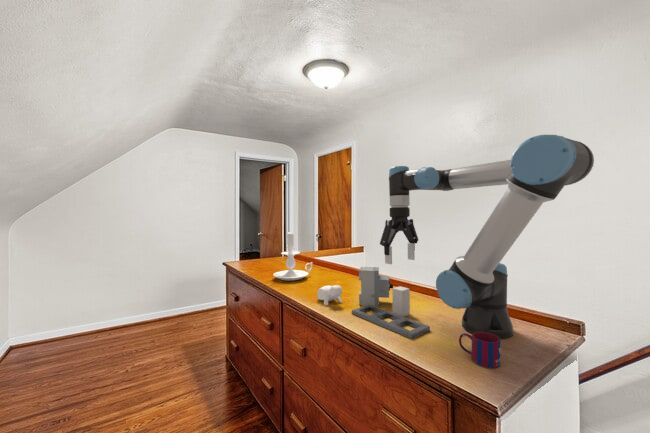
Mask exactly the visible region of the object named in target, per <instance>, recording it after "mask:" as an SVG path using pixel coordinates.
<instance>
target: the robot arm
mask: <svg viewBox="0 0 650 433" xmlns="http://www.w3.org/2000/svg"><path fill="white" fill-rule="evenodd" d="M594 164H595V158H594V154H593V152H592V150H591V148H590V147H589V146H588V145H586V144H585V143H583V142H581V141H578V140H573V139H570V138H568V137H564V136H563V135H557V134H539V135H535V136H532V137H529V138H527V139H525V140H524V141H523V142H521V143H520V144H519V145H518V146H517V147H516V148H515V150H514V152H513V153H512V154H511V158H510V159H505V160H500V161H493V162H487V163H481V164H475V165H469V166H462V167H456V168H451V169H443V170H441V169H439V170H438V169H436V168H435V167H432V166H428V167H426V166H425V167H421V168H415V169H410V168H409V166H406V165H398V166H397V165H395V166H392V167H390V168H389V171H388V172H389V174H388V184H389V187H388V188H389V189H388V190H389V206H390V208H389V217H390V218H391V219H385V223H384V228H383V232H382V235H381V238H380V240H379V241H380V242H379V245H380V246H382V247H383V254H384V264H386V265H392V264H393V246H391V245H392V244H393V241H394V239H395V237H396V235H397V233H399V232H403V234H404V237H405V238H406V239H407V241H408V242H407V260H410V261H415V250H416V249H415V248H416V247H415V246H416V244H418V242H419V236H418V234H417V231H416V228H415V224H414V219H413V218H408V217H410V215H411V212H410V211H411V210H410V207H409V206H410V205H411V204H410V203H411V202H410V191H420V190H421V191H441V192H442V191H443V192H448V191H454V190H459V189H460V190H461V189H470V188H471V189H472V188H473V189H474V188H481V187H493V186H502V185H503V186H504V185H505V186H506V185H507V189H506V191H505V192H504V193H503V194H502V196H501V198H500V200H499V202H498V203H497V204H496V206H495V207H494V209H493V210H492V213H490V215H489V217H488V218H487V220H486V221H485V223H484V224H483V225H482V228H481V230H480V231H479V232H478V234H477V236H475V238H474V240H473V242H472V243H471V245H470V246H469V248H468V249H467V251H466V253H465V254H464V255H460V256H457V257H456V258H455V259H454V261H453V263H452V265H450V267H449V269H446V270H443V271H442V272H440V273H439V274H437V275H438V276H436V280H435V288H436V290H437V295H438V297H439V298H440V300H442V302H443V303H444V304H445V305H447V306H448V307H450V308H452V309H455V310H456V309H457V310H460V309H464V312H463V315H462V318H461V327H462V328H463V329H464V330H465V331H467V332H469V333H471V334H472V333H474V332H488V333H491V334H494V335H496V336H498V337H499V338H500V339H507V338H510V337H511V338H512V336H513V335H514V325H513V323H512V320H511V318H510V315H509V312H508V305H507V304H508V276H509V275H508V269H507V266H506V265H505V264H504V263H502V260H503V259H504V257H505V256H506V254H507V253H508V252H509V251H510V249H511V248H512V246H514V243H515V242H516V241H517V239H518V238H519V237H520V236H521V234H522V233H523V232H524V230H525V228H526V227H527V226H528V224H529V223H530V221H531V220H532V219H533V217H534V216H535V214H536V213H537V212H538V211H539V210H540V208H541V206H542V205H543V204H544V203H546V202H551V201H554V200H555V199H557V197H558V195H559V194H560V193H561V191H562V190H563V189H564V188H565V186H570V185H574V184H576V183H578V182H580V181H582V180H583V179H585V178H586V177H587V176H588V175H589V174H590V172H591V171H592V170H593V168H594Z"/></svg>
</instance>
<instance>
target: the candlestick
mask: <svg viewBox="0 0 650 433" xmlns="http://www.w3.org/2000/svg"><path fill="white" fill-rule="evenodd" d="M286 233H287V234H286V238H287V240H286V241H287V242H286V244H287V249H288V250H287V251H283V252H281V253H280V254H281V255H284V256H287V258H286V261H285V264H286V267H287V268H288V270H281V271H276V272H274V273H273V277H276V278H277V279H278V280H282V281H288V282H289V281H297V280H301V279H303V278H305V277H306V276H308V275H309V274H310V273H311V270H312V269H313V264H314V262H312V261H311V262H307V263H306V264H305V266H304V267H305V270H306V271H305V270H299V269H294V268H295V266H296V262H297V261H296V259H295V258H294V257H295V256H296V255H298V254H300V253H301V252H300V251H297V250H296V251H294V250H295V234H294V232H291V231H290V232H286ZM308 265H310V268H308V267H307V266H308Z"/></svg>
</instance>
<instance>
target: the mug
mask: <svg viewBox="0 0 650 433" xmlns="http://www.w3.org/2000/svg"><path fill="white" fill-rule="evenodd" d="M464 336H465V337H468V338H469V339H470V340H471V350H469V349H467V348H465V347H464V346H463V344H462V337H464ZM501 340H502V338H499V337H498V336H496V335H494V334H491V333H488V332H474V333H471V335H470V334H469V333H465V332H464V333H461V334H460V335H459V337H458V343H459V344H458V345H459V347H460V348H461V350H463V351H464V352H465V353H466V354H469V355H470V356H471V360H472V362H473V363H474V364H476V365H477V366H478V367H479V366H480V367H482V368H486V369H493V368H494V369H498V368H499V367H501V351H502V350H501V348H502V347H501V346H502V345H501Z"/></svg>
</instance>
